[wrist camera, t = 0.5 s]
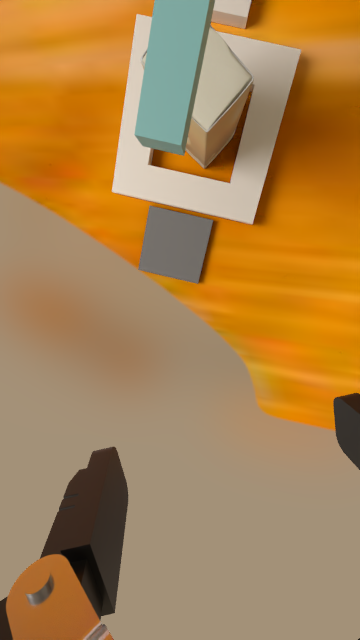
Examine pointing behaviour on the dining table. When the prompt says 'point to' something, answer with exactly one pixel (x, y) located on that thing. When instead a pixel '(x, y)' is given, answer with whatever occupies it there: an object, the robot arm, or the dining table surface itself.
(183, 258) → the coaster
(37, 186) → the dining table surface
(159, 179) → the holder
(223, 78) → the skincare box
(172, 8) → the swing bar
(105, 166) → the dining table surface
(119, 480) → the robot arm
